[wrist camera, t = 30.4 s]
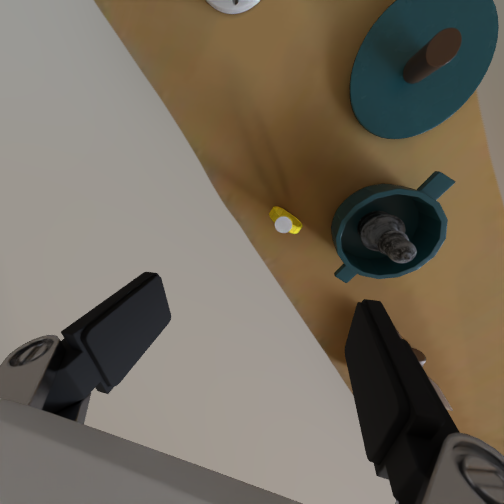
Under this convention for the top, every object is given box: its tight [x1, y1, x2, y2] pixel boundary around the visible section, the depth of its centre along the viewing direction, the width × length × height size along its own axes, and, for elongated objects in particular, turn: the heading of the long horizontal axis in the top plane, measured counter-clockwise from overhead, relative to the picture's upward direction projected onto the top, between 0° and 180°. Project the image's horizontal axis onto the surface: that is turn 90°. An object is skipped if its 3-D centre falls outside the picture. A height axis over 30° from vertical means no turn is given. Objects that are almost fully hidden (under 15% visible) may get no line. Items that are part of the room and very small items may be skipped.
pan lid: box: [349, 0, 498, 139], centre depth 21 cm, size 14×14×6 cm
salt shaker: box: [357, 211, 417, 263], centre depth 27 cm, size 6×6×12 cm
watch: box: [269, 206, 303, 234], centre depth 33 cm, size 6×3×6 cm, turn 60°
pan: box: [331, 171, 455, 283], centre depth 30 cm, size 13×19×6 cm
